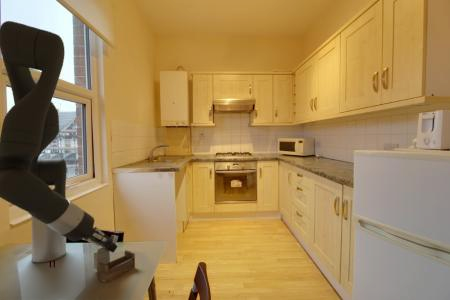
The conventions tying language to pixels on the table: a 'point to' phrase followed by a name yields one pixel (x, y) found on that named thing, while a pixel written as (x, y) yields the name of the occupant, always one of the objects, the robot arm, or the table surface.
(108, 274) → the open wooden box
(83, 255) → the table surface
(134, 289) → the table surface
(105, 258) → the lighter
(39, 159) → the robot arm
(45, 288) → the table surface
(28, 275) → the table surface
